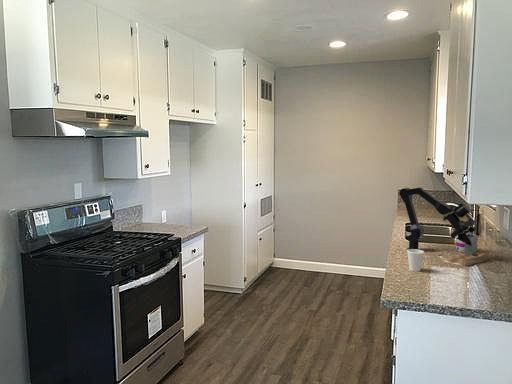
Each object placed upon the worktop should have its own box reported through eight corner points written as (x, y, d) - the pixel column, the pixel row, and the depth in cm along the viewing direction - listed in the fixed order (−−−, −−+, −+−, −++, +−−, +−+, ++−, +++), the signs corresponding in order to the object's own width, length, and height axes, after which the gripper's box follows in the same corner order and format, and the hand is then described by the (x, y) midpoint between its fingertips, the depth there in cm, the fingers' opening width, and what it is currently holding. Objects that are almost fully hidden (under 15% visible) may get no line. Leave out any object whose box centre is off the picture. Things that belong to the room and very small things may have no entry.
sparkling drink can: (466, 253, 259) (468, 228, 258) (453, 250, 266) (454, 226, 264) (472, 251, 265) (474, 227, 263) (459, 248, 271) (460, 225, 269)
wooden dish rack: (440, 261, 239) (441, 253, 239) (464, 255, 253) (464, 248, 252) (464, 267, 228) (465, 259, 227) (488, 261, 241) (488, 253, 241)
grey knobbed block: (464, 254, 244) (465, 232, 243) (468, 253, 246) (469, 231, 245) (472, 255, 240) (473, 234, 239) (476, 254, 243) (477, 233, 241)
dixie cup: (403, 268, 226) (403, 249, 225) (415, 266, 229) (416, 248, 228) (414, 272, 218) (414, 253, 217) (427, 271, 221) (427, 252, 220)
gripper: (456, 215, 239) (475, 238, 231) (474, 212, 249) (492, 234, 242) (443, 227, 246) (460, 249, 238) (460, 224, 257) (477, 245, 249)
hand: (473, 244), depth 242 cm, fingers closed on grey knobbed block, 4 cm apart
